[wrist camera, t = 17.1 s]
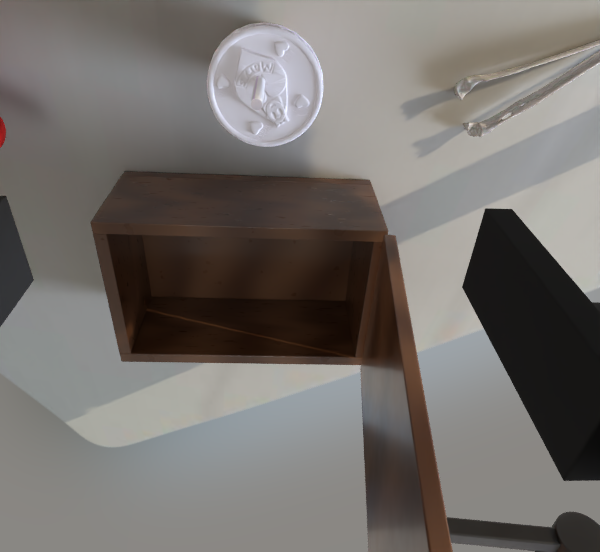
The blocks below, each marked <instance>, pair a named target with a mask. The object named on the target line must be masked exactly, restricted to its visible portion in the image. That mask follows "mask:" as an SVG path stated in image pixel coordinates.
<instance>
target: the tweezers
mask: <svg viewBox="0 0 600 552" xmlns="http://www.w3.org/2000/svg"><path fill="white" fill-rule="evenodd" d="M598 45H600V40H598V41H595V42H592V43H589V44H586V45H583V46H580V47H578V48H575V49H572V50H569V51H566V52H563V53H560V54H557V55H554V56H551V57H548V58H545V59H542V60H539V61H536V62H533V63H529V64H526V65H522V66H518V67H515V68H511V69H507V70H503V71H500V72H497V73H493V74H487V75H473V76H469V77H466V78H464V79H462V80H460V81H459V82H458V83H456V85H455V88H454V92H455V95H457V96H459V99H460V100H462V99H463V97H464V96H465V95H466V94H467V93H468V92H469V91H470V90H471V89H472V88H473V87H474V86H475V85H476V84H477V83H479V82H481V81H485V82H486V81H489V80H492V79H496V78H500V77H503V76H508V75H511V74H515V73H518V72H521V71H524V70H527V69H529V68H531V67H535V66H538V65H541V64H544V63H548V62H551V61H554V60H557V59H561V58H563V57H566V56H569V55H572V54H575V53H578V52H581V51H585V50H588V49H590V48H593V47H595V46H598ZM599 63H600V51H598V52H597V53H595V54H593V55H592V56H590V57H589V58H587V59H586V60H584V61H583V62H581V63H580V64H578V65H576V66H575V67H574V68H572V69H571V70H569V71H568V72H566V73H565V74H563V75H562V76H560V77H558V78H557V79H555V80H554V81H552V82H550V83H549V84H547V85H546V86H544V87H543V88H541V89H539V90H538V91H536V92H534V93H532V94H531V95H529V96H527V97H525V98H523V99H521V100H519V101H517V102H516V103H514V104H513V105H511V106H510V107H508V108H507V109H505V110H504V111H502V112H500V113H498V114H497V115H495V116H493V117H491V118H489V119H487V120H485V121H482V122H480V123H478V122H475V123H463V125H464V127H465V129H466V130H467V132H468V134H469V135H470V136H473V137H476V136H479V137H481V136H483V135H485V134H487V133H490V132H491V131H492V130H493V129H494V128H495V127H497V126H498V125H500V124H502V123H503V122H505V121H507V120H509V119H510V118H512V117H514V116H516V115H518V114H520V113H521V112H523V111H525V110H527V109H529V108H531V107H533V106H534V105H536V104H538V103H539V102H541V101H542V100H544V99H545V98H547V97H548V96H550V95H551V94H553V93H554V92H556V91H557V90H559V89H561V88H562V87H564V86H565V85H567V84H568V83H570V82H571V81H573V80H574V79H576V78H578V77H579V76H581V75H582V74H584V73H585V72H587V71H588V70H590V69H591V68H593V67H594V66H596V65H598V64H599ZM511 112H512V114H511V116H509V117H508V118H506V119H504V120H502V118H503V117H504V116H506V115H507V114H509V113H511Z"/></svg>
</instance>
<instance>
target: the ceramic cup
mask: <svg viewBox="0 0 600 552" xmlns="http://www.w3.org/2000/svg"><path fill="white" fill-rule="evenodd" d="M5 137H6V128H5V124H4V122H3V120H2V118H1V117H0V148H1V146H2V145H3V143H4V141H5Z"/></svg>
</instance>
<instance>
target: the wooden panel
mask: <svg viewBox="0 0 600 552" xmlns="http://www.w3.org/2000/svg"><path fill="white" fill-rule="evenodd" d="M361 391H362V413H363V435H364V436H363V437H364V460H365V483H366V505H367V528H368V552H453V550H452V546H451V543H458V544H469V545H479V546H489V547H500V548H510V549H520V550H530V551H535V552H600V525H599V524H597V523H596V522H595V521H594V520H592V519H591V518H589V517H588V516H586V515H583V514H581V513H577V512H566V513H563V514H561V515H560V516H559V517H558V518H557V519H556V521H555V522H554V524H553V525H552V527H542V526H531V525H521V524H511V523H500V522H489V521H480V520H469V519H459V518H448V517H446V512H445V506H444V501H443V495H442V490H441V484H440V479H439V473H438V468H437V462H436V457H435V451H434V446H433V440H432V435H431V429H430V423H429V418H428V413H427V407H426V401H425V396H424V390H423V385H422V379H421V374H420V368H419V363H418V357H417V352H416V346H415V341H414V335H413V329H412V324H411V318H410V313H409V307H408V302H407V296H406V291H405V285H404V280H403V274H402V269H401V263H400V258H399V252H398V247H397V241H396V236H395V235H384V237H383V243H382V249H381V255H380V260H379V266H378V272H377V278H376V283H375V289H374V295H373V300H372V306H371V312H370V318H369V323H368V329H367V335H366V341H365V346H364V352H363V358H362V363H361Z"/></svg>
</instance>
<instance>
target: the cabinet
mask: <svg viewBox="0 0 600 552" xmlns="http://www.w3.org/2000/svg"><path fill="white" fill-rule="evenodd" d="M91 227H92V231H93V236H94V240H95V245H96V249H97V254H98V258H99V263H100V267H101V272H102V276H103V281H104V285H105V290H106V294H107V299H108V303H109V308H110V312H111V316H112V321H113V325H114V330H115V334H116V339H117V343H118V348H119V352H120V356H121V361H128V362H195V363H263V364H330V365H361V363H362V358H363V352H364V346H365V341H366V335H367V329H368V323H369V318H370V312H371V306H372V300H373V295H374V289H375V283H376V278H377V272H378V266H379V260H380V255H381V249H382V243H383V237H384V235H388V229H387V226H386V223H385V221H384V218H383V215H382V212H381V209H380V207H379V204H378V201H377V198H376V196H375V193H374V190H373V187H372V185H371V182H370V180H349V179H321V178H294V177H266V176H238V175H210V174H183V173H155V172H127V171H125V172H124V173H123V174H122V176H121V177H120V179H119V180H118V182H117V183H116V185H115V186H114V188H113V189H112V191H111V192H110V194H109V195H108V197H107V198H106V200H105V201H104V203H103V204H102V206H101V207H100V209H99V210H98V212H97V213H96V215H95V216H94V218H93V219H92V221H91Z"/></svg>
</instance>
